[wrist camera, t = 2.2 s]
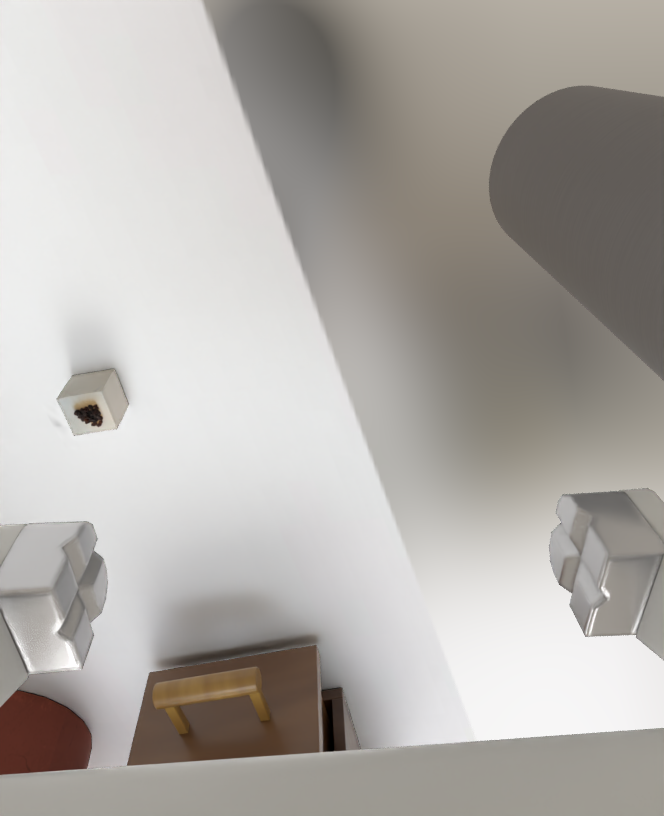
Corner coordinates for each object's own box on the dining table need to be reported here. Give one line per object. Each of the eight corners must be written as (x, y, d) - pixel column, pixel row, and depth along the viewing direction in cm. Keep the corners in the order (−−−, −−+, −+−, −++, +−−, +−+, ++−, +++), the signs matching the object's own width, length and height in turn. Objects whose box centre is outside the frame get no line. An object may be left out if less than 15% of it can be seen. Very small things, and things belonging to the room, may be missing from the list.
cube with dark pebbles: (114, 367, 29) (99, 393, 27) (129, 404, 31) (116, 432, 28) (71, 375, 30) (54, 402, 27) (88, 411, 31) (72, 439, 29)
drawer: (125, 631, 38) (82, 777, 31) (302, 601, 37) (303, 742, 30) (209, 777, 47) (191, 916, 40) (352, 755, 46) (362, 893, 39)
